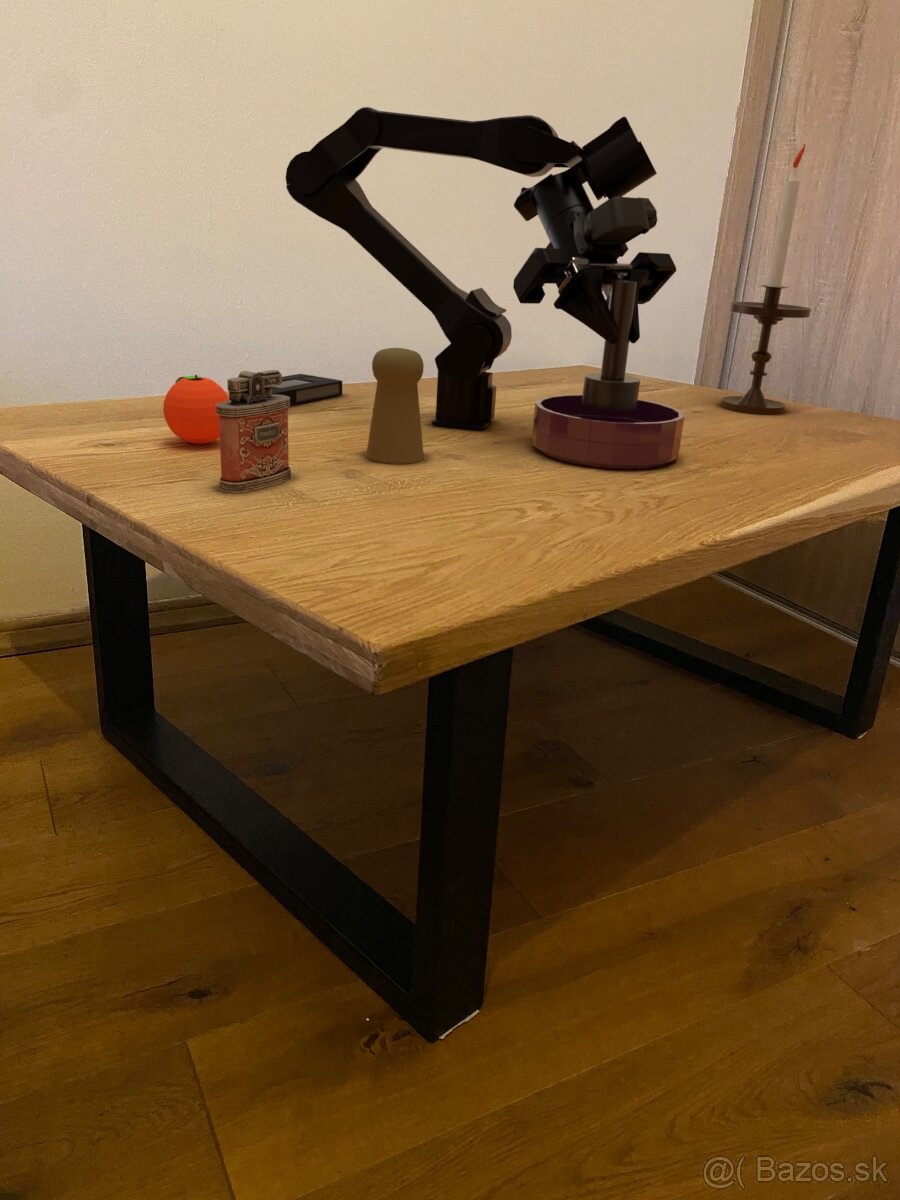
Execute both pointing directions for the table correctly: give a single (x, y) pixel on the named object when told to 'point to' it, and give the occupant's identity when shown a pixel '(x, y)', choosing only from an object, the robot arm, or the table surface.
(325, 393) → the vhs tape
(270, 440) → the lighter
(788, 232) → the candlestick
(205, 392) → the clementine
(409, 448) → the cork
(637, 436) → the bowl
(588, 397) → the bolt
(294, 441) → the table surface
